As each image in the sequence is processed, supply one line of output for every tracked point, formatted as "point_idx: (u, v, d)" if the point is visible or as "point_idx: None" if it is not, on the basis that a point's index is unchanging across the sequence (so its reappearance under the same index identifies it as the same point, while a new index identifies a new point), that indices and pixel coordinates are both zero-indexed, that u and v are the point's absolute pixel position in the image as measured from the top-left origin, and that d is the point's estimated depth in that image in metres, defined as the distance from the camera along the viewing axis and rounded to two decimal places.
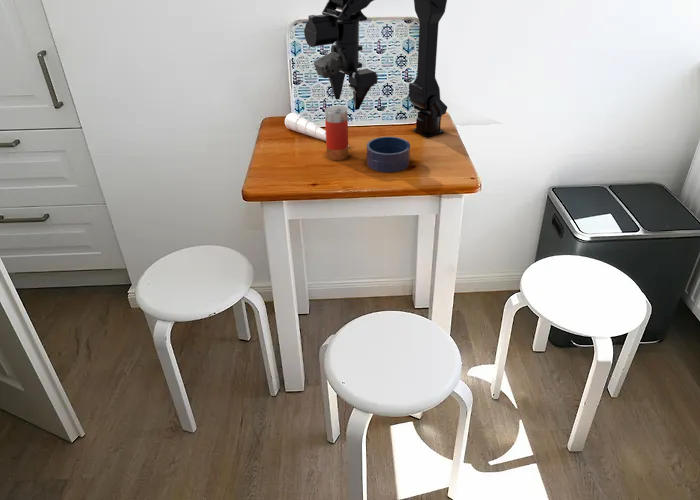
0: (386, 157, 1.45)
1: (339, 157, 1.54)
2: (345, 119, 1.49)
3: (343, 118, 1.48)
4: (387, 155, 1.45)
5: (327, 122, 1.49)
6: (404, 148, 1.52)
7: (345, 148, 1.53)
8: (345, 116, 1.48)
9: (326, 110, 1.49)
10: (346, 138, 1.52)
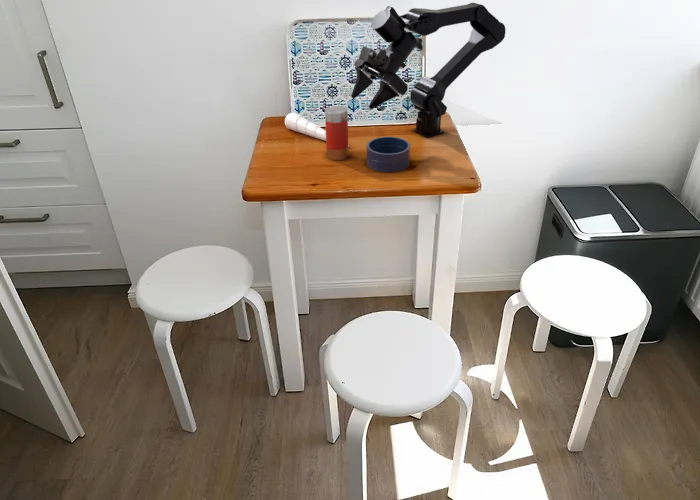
0: (386, 157, 1.45)
1: (339, 157, 1.54)
2: (345, 119, 1.49)
3: (343, 118, 1.48)
4: (387, 155, 1.45)
5: (327, 122, 1.49)
6: (404, 148, 1.52)
7: (345, 148, 1.53)
8: (345, 116, 1.48)
9: (326, 110, 1.49)
10: (346, 138, 1.52)
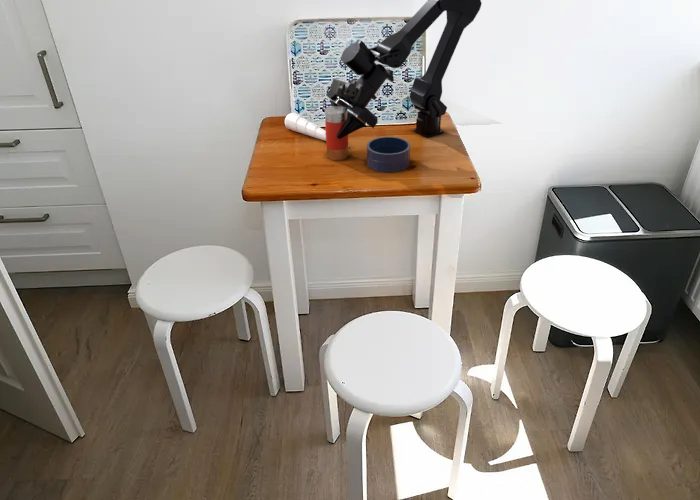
0: (386, 157, 1.45)
1: (339, 157, 1.54)
2: (345, 119, 1.49)
3: (343, 118, 1.48)
4: (387, 155, 1.45)
5: (327, 122, 1.49)
6: (404, 148, 1.52)
7: (345, 148, 1.53)
8: (345, 116, 1.48)
9: (326, 110, 1.49)
10: (346, 138, 1.52)
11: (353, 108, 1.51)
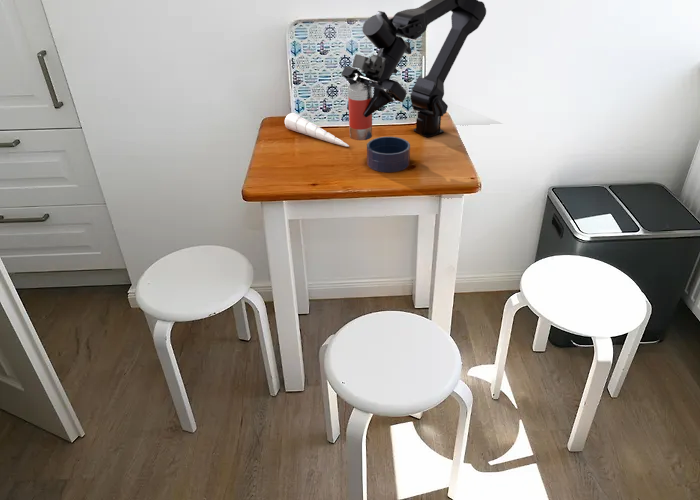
0: (386, 157, 1.45)
1: (365, 137, 1.47)
2: (371, 96, 1.43)
3: (369, 95, 1.42)
4: (387, 155, 1.45)
5: (352, 100, 1.42)
6: (404, 148, 1.52)
7: (370, 127, 1.47)
8: (371, 92, 1.42)
9: (350, 88, 1.42)
10: (371, 116, 1.46)
11: None
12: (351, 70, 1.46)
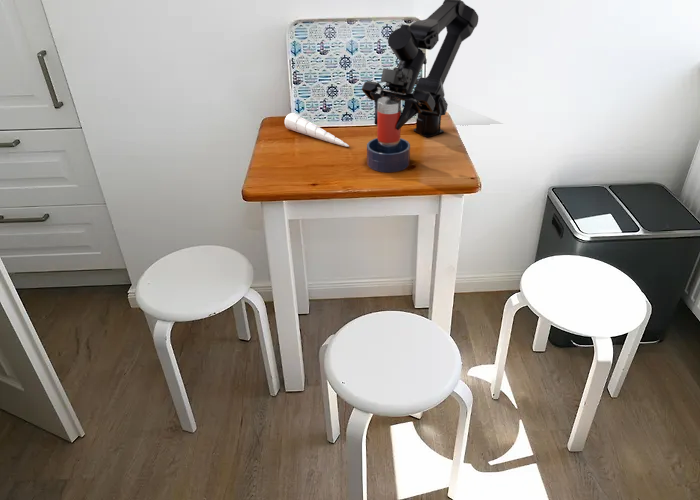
0: (386, 157, 1.45)
1: (395, 149, 1.48)
2: (400, 108, 1.43)
3: (400, 107, 1.43)
4: (387, 155, 1.45)
5: (385, 114, 1.42)
6: (404, 148, 1.52)
7: None
8: (400, 105, 1.43)
9: (381, 102, 1.41)
10: (400, 128, 1.47)
11: None
12: (373, 84, 1.46)
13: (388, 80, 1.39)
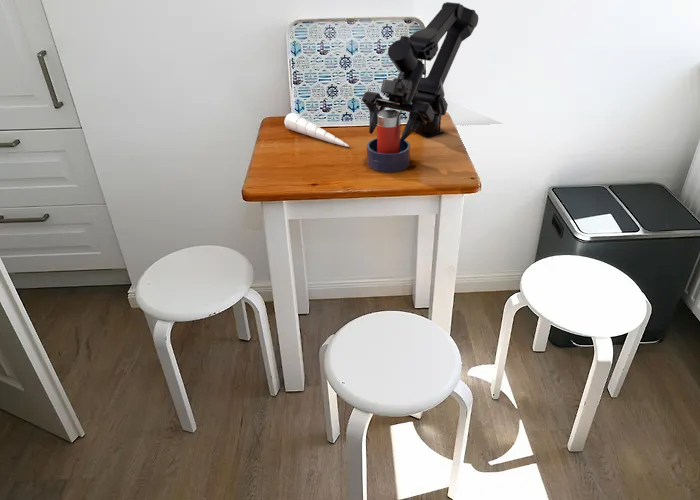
0: (386, 157, 1.45)
1: None
2: None
3: None
4: (387, 155, 1.45)
5: (384, 128, 1.44)
6: (404, 148, 1.52)
7: (399, 151, 1.50)
8: None
9: (381, 116, 1.43)
10: (399, 141, 1.49)
11: None
12: (373, 95, 1.47)
13: (388, 91, 1.41)
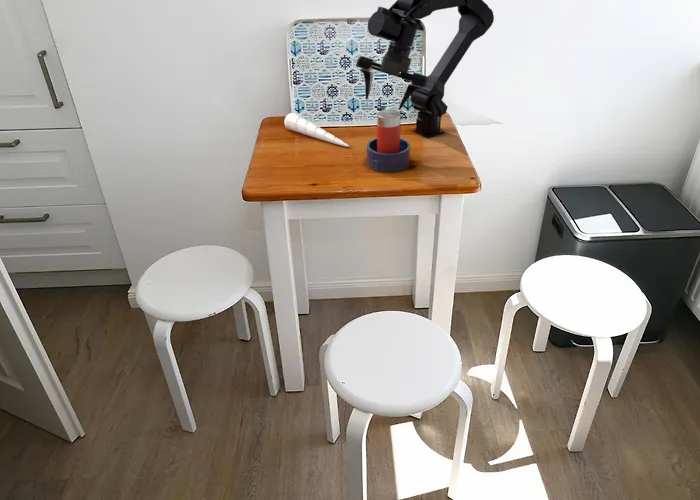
0: (386, 157, 1.45)
1: None
2: None
3: None
4: (387, 155, 1.45)
5: (384, 128, 1.44)
6: (404, 148, 1.52)
7: (399, 151, 1.50)
8: None
9: (381, 116, 1.43)
10: (399, 141, 1.49)
11: (400, 74, 1.50)
12: (369, 63, 1.47)
13: (389, 71, 1.43)
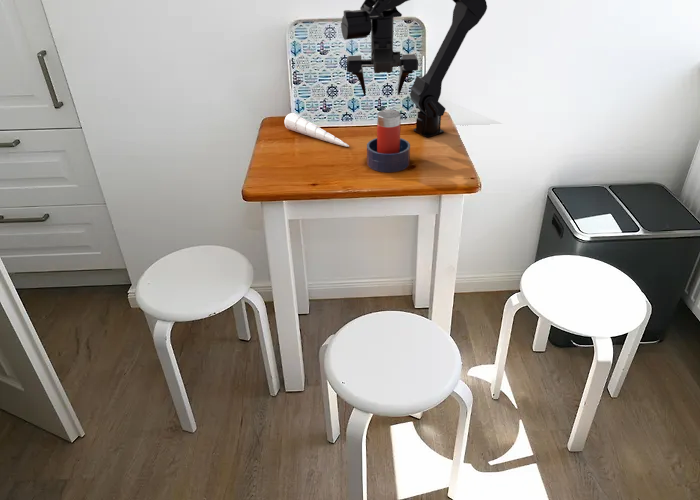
0: (386, 157, 1.45)
1: None
2: None
3: None
4: (387, 155, 1.45)
5: (384, 128, 1.44)
6: (404, 148, 1.52)
7: (399, 151, 1.50)
8: None
9: (381, 116, 1.43)
10: (399, 141, 1.49)
11: None
12: (359, 65, 1.50)
13: (383, 71, 1.46)
